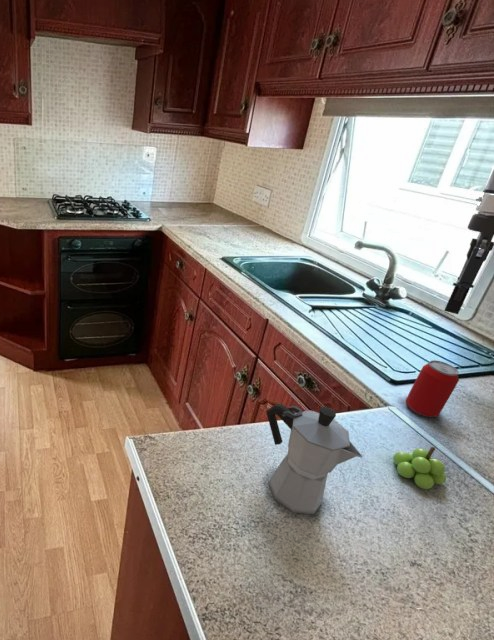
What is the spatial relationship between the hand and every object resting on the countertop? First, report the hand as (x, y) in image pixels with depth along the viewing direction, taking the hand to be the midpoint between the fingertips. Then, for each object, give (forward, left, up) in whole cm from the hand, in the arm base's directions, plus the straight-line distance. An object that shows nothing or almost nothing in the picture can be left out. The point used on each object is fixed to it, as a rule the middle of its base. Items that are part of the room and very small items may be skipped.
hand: (451, 311), depth 99 cm
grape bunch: (+2, +42, -19) cm, 46 cm away
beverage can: (0, +17, -20) cm, 26 cm away
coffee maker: (+22, +60, -20) cm, 67 cm away
